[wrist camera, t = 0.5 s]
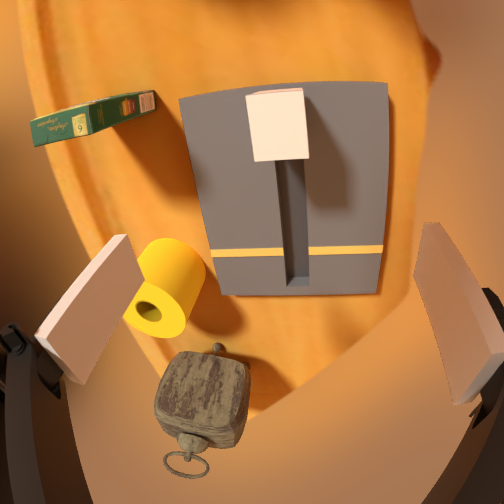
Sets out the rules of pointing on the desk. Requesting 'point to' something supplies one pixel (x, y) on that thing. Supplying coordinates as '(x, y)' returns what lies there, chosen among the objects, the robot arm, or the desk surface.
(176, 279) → the yellow toilet paper roll
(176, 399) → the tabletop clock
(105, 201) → the desk surface
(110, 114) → the coffee box
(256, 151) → the fader knob
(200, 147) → the fader console
